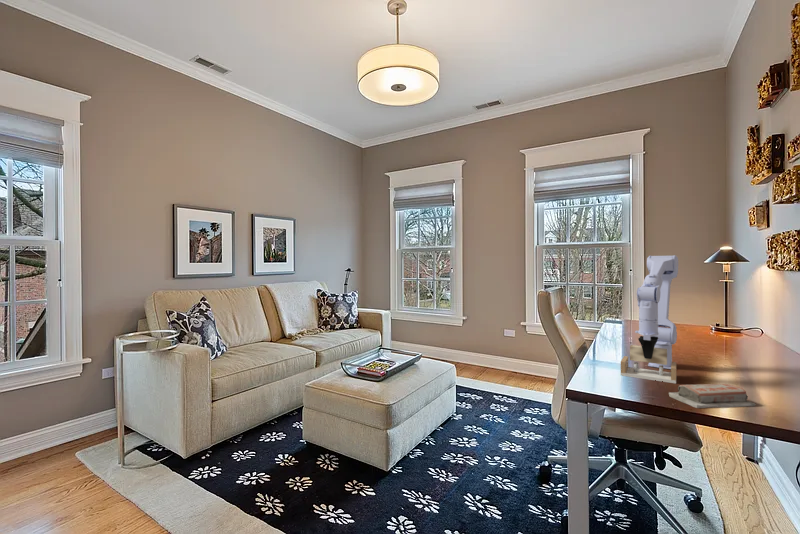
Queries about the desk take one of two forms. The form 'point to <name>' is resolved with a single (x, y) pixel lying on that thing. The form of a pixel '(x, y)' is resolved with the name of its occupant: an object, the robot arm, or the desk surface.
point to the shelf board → (657, 357)
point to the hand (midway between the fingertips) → (648, 357)
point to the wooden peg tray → (648, 372)
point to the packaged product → (712, 395)
